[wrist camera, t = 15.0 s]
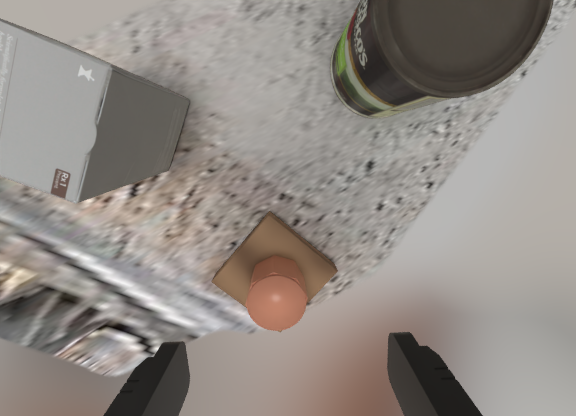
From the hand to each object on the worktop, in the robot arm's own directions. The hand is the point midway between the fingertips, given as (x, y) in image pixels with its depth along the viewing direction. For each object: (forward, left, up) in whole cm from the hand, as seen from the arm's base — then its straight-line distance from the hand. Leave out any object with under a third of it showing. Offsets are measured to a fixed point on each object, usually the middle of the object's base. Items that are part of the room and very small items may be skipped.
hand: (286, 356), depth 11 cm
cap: (+5, +4, -20) cm, 21 cm away
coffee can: (-19, -3, -22) cm, 29 cm away
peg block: (+5, +3, -22) cm, 23 cm away
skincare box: (+1, -17, -22) cm, 28 cm away
